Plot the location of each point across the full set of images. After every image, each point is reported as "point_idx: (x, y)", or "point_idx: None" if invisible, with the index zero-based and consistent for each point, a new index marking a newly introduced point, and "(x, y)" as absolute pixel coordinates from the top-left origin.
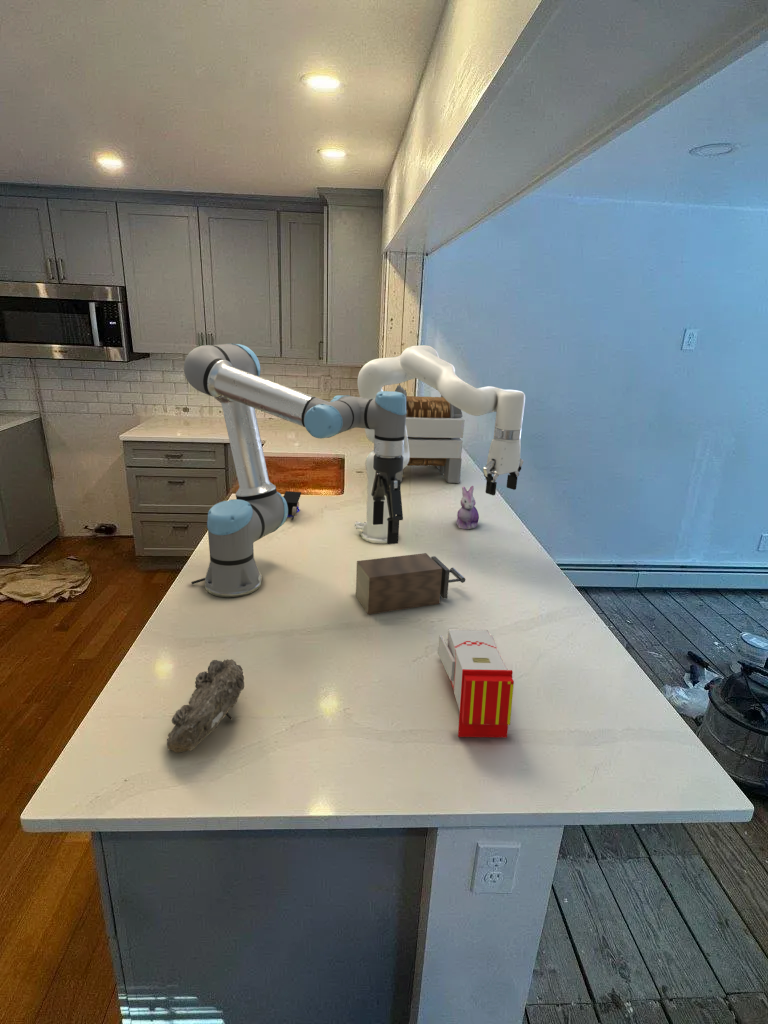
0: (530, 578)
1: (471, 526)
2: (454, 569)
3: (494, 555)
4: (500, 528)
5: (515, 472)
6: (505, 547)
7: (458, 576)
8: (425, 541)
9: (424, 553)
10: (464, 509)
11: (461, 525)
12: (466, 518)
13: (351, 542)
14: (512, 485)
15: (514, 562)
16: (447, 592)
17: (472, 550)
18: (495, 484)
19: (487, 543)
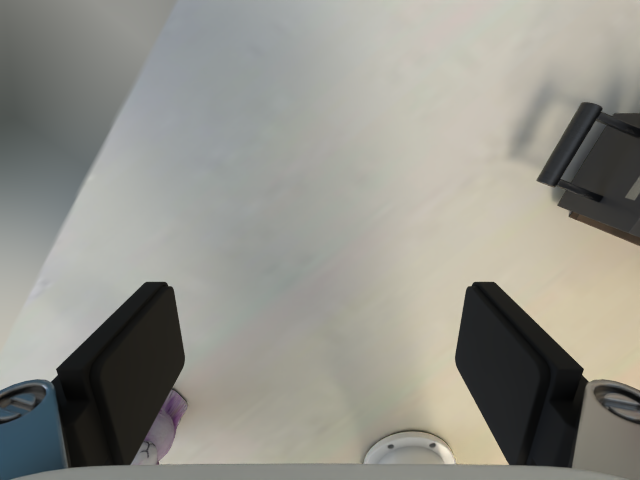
0: (272, 52)
1: None
2: (559, 170)
3: (238, 236)
4: (72, 348)
5: (52, 448)
6: (162, 254)
7: (590, 128)
8: (334, 395)
9: None
10: (157, 452)
11: (180, 409)
12: (164, 420)
13: None
14: (161, 326)
15: (222, 166)
16: (630, 113)
17: (269, 294)
18: (561, 348)
19: (191, 301)
